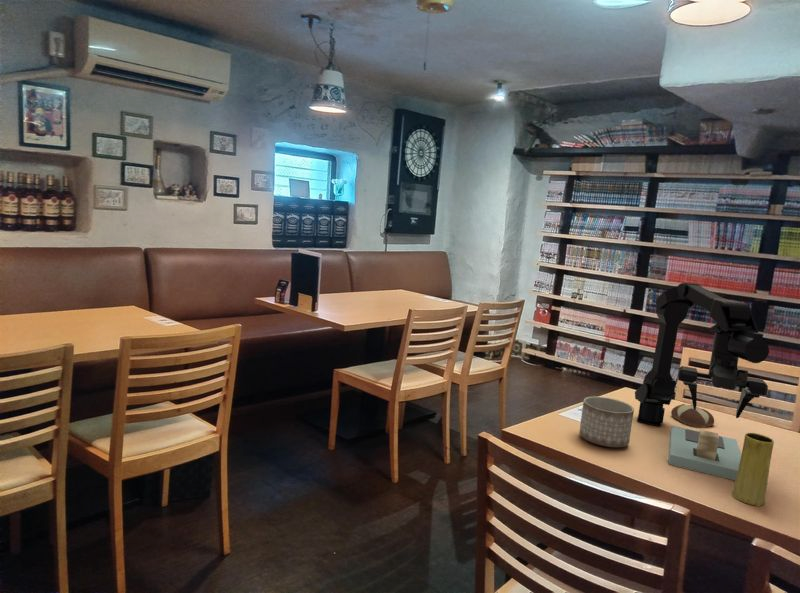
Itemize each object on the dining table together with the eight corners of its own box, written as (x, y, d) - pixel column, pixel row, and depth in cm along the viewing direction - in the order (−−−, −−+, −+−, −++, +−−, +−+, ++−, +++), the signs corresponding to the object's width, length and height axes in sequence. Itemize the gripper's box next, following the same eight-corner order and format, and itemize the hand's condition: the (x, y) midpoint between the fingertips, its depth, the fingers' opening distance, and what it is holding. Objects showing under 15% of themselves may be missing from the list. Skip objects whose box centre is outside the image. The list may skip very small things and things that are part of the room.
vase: (765, 509, 115) (777, 445, 112) (731, 499, 118) (742, 437, 116) (763, 498, 120) (775, 437, 118) (731, 489, 123) (742, 429, 121)
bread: (688, 428, 161) (691, 412, 160) (664, 414, 172) (666, 399, 171) (721, 429, 163) (724, 413, 162) (695, 415, 174) (698, 400, 173)
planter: (576, 429, 153) (581, 393, 151) (623, 435, 150) (628, 400, 149) (581, 446, 140) (587, 408, 139) (633, 454, 138) (638, 415, 137)
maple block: (695, 464, 135) (700, 434, 133) (695, 459, 138) (700, 429, 137) (713, 469, 133) (719, 438, 132) (712, 463, 136) (718, 433, 135)
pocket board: (668, 463, 134) (670, 453, 133) (670, 433, 155) (671, 424, 155) (743, 482, 127) (745, 471, 126) (734, 448, 148) (736, 438, 147)
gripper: (684, 351, 129) (674, 414, 131) (777, 366, 121) (765, 432, 123) (682, 344, 139) (673, 402, 141) (768, 356, 131) (757, 418, 133)
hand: (715, 413), depth 134 cm, fingers open, 9 cm apart
